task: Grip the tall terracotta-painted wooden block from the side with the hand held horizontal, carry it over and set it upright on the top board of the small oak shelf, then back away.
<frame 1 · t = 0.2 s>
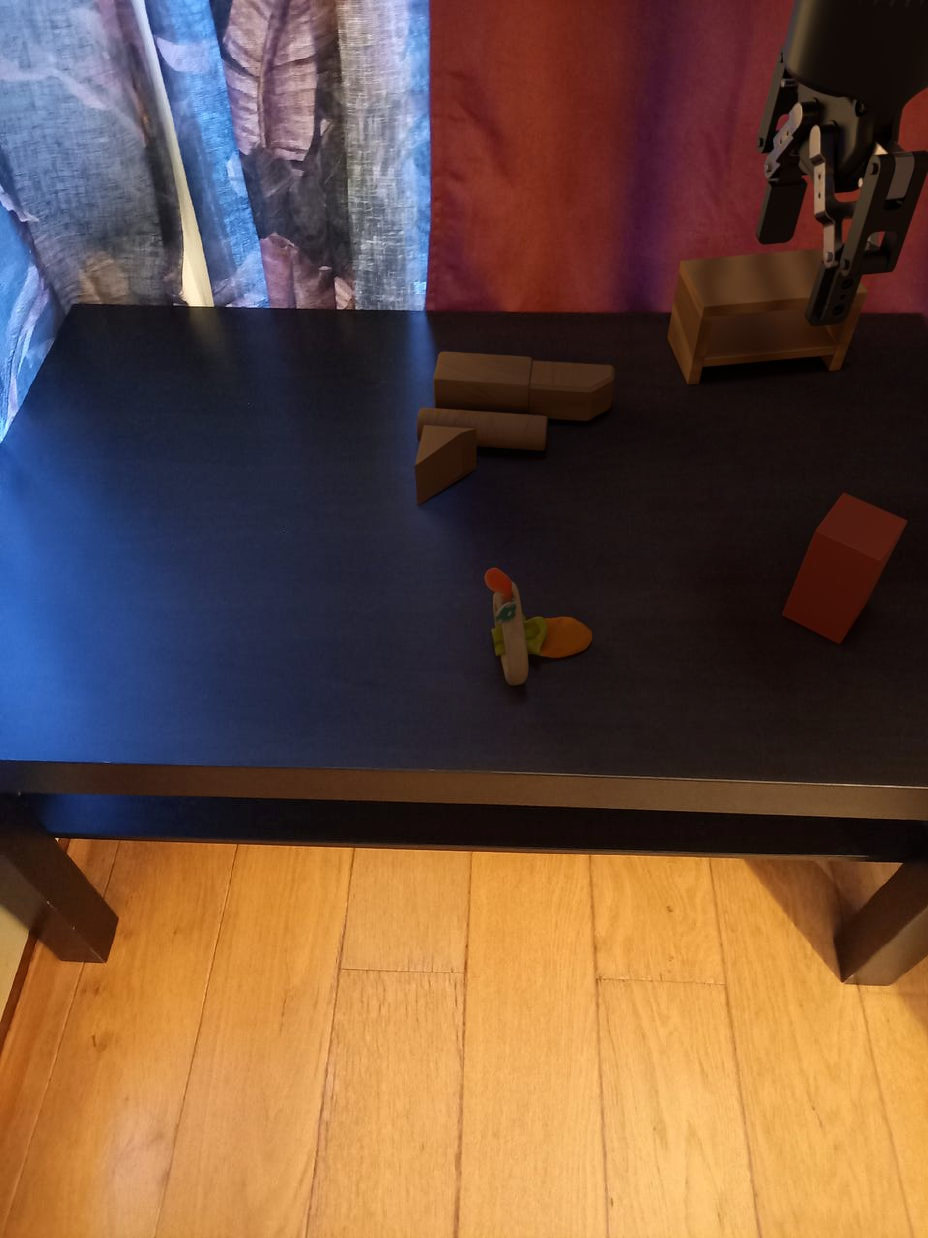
hand: (796, 278, 56), 29 cm above the table, tool pointing down, fingers open, 8 cm apart
rattle: (537, 664, 74), on the table
shelf: (751, 353, 98), on the table
block: (823, 610, 77), on the table
wooden block set: (512, 450, 90), on the table
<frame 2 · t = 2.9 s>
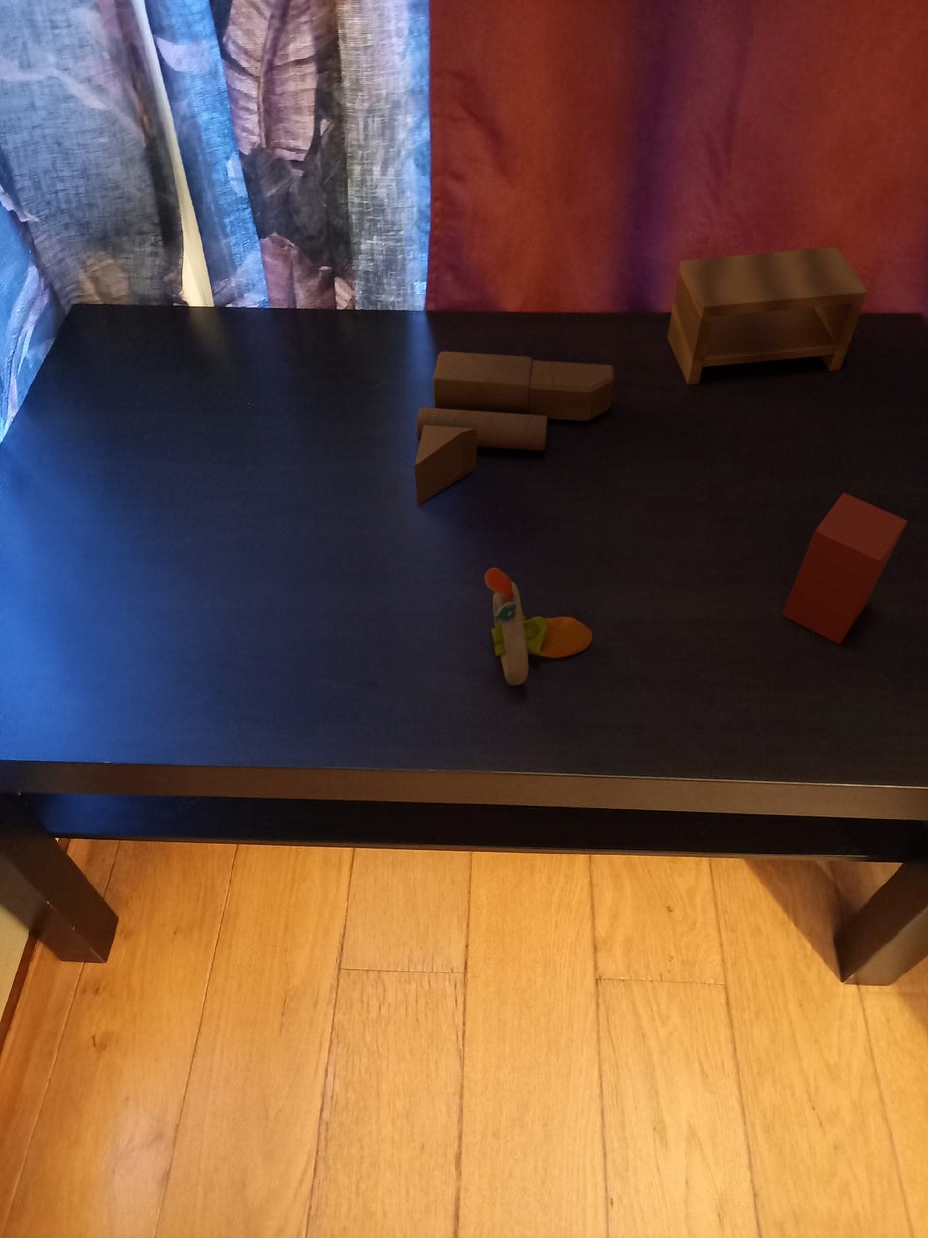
nothing on the table moved.
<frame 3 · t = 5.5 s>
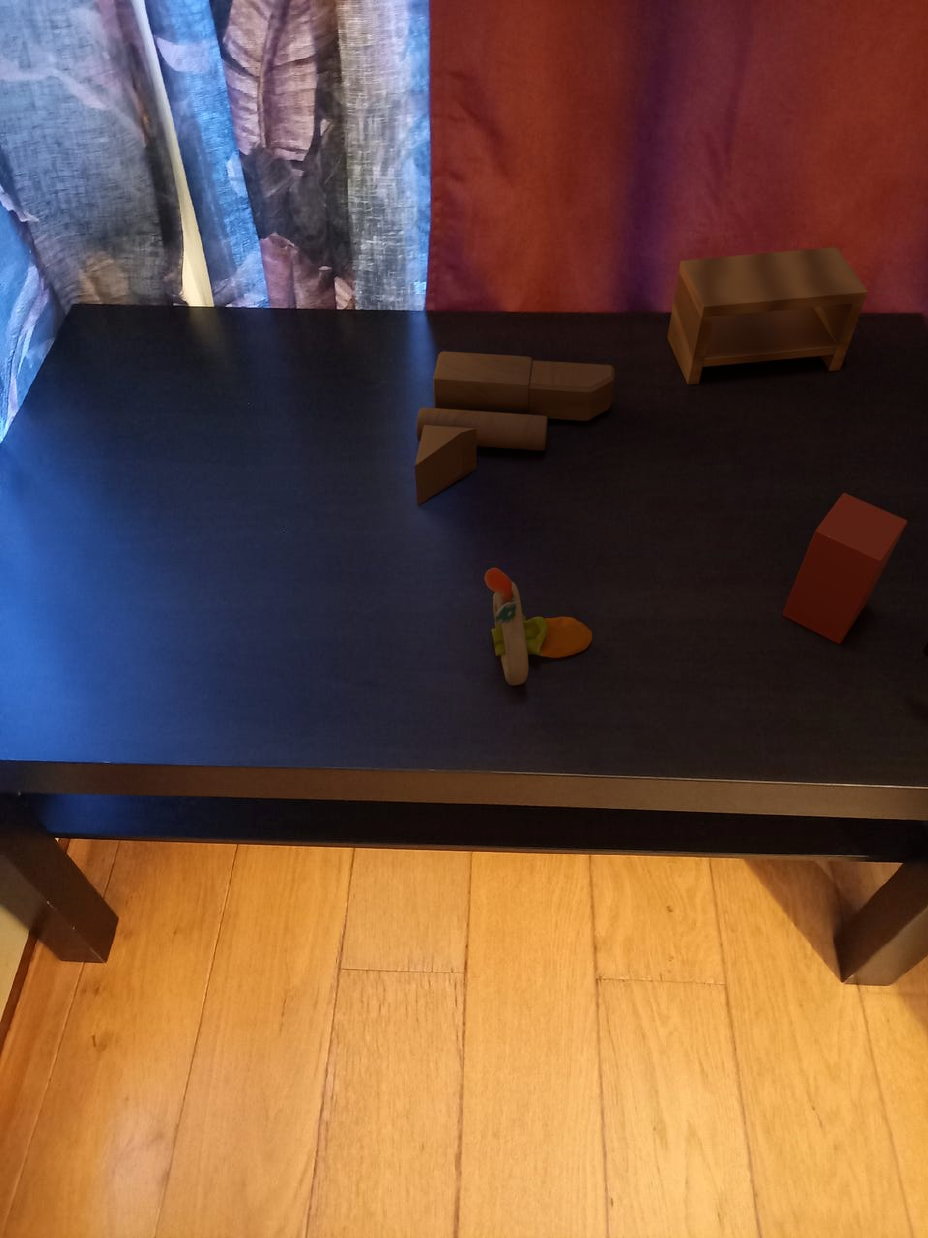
nothing on the table moved.
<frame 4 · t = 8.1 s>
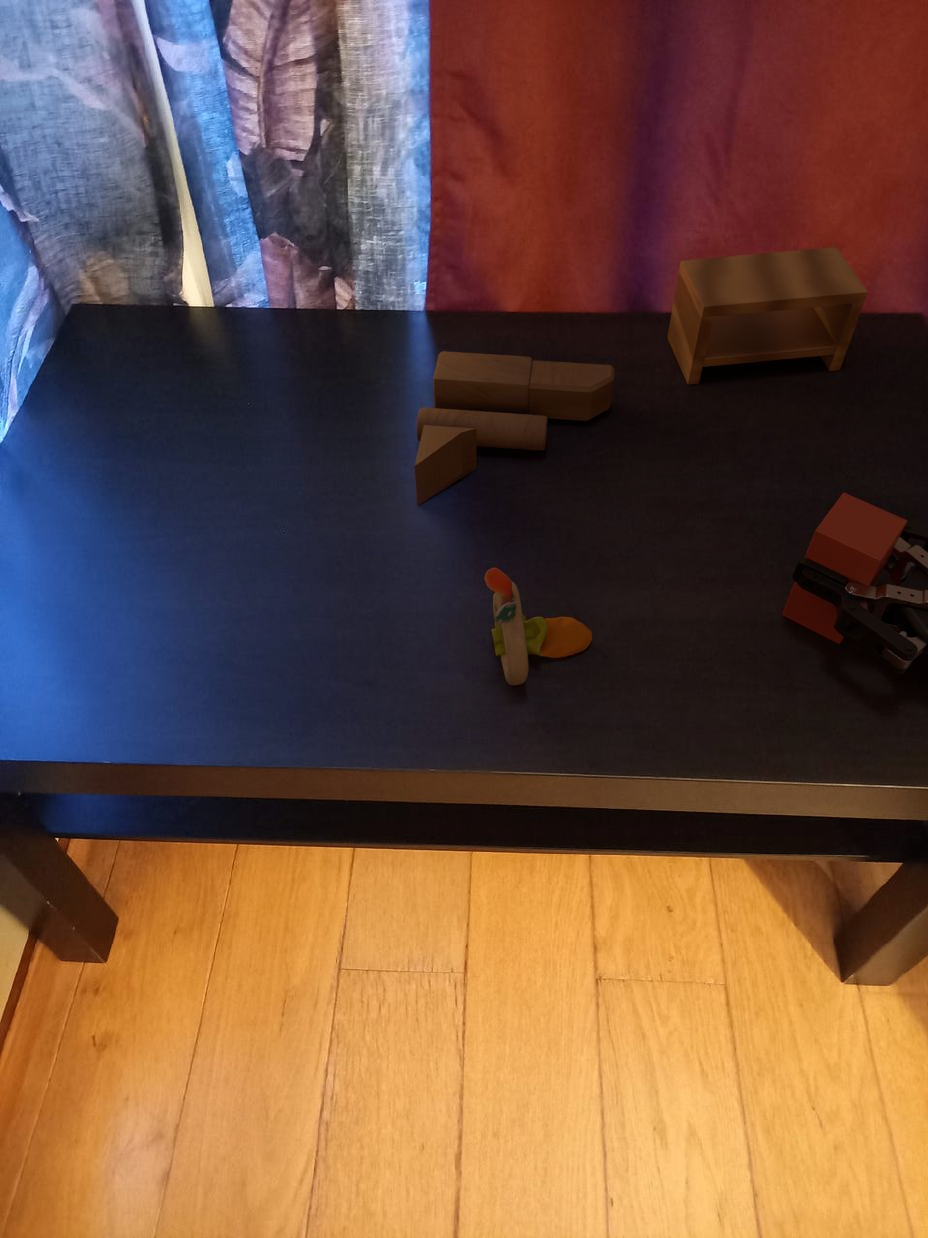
hand: (813, 546, 73), 6 cm above the table, tool horizontal, fingers closed on block, 5 cm apart
block: (823, 610, 77), on the table, touching gripper
everything else where it was.
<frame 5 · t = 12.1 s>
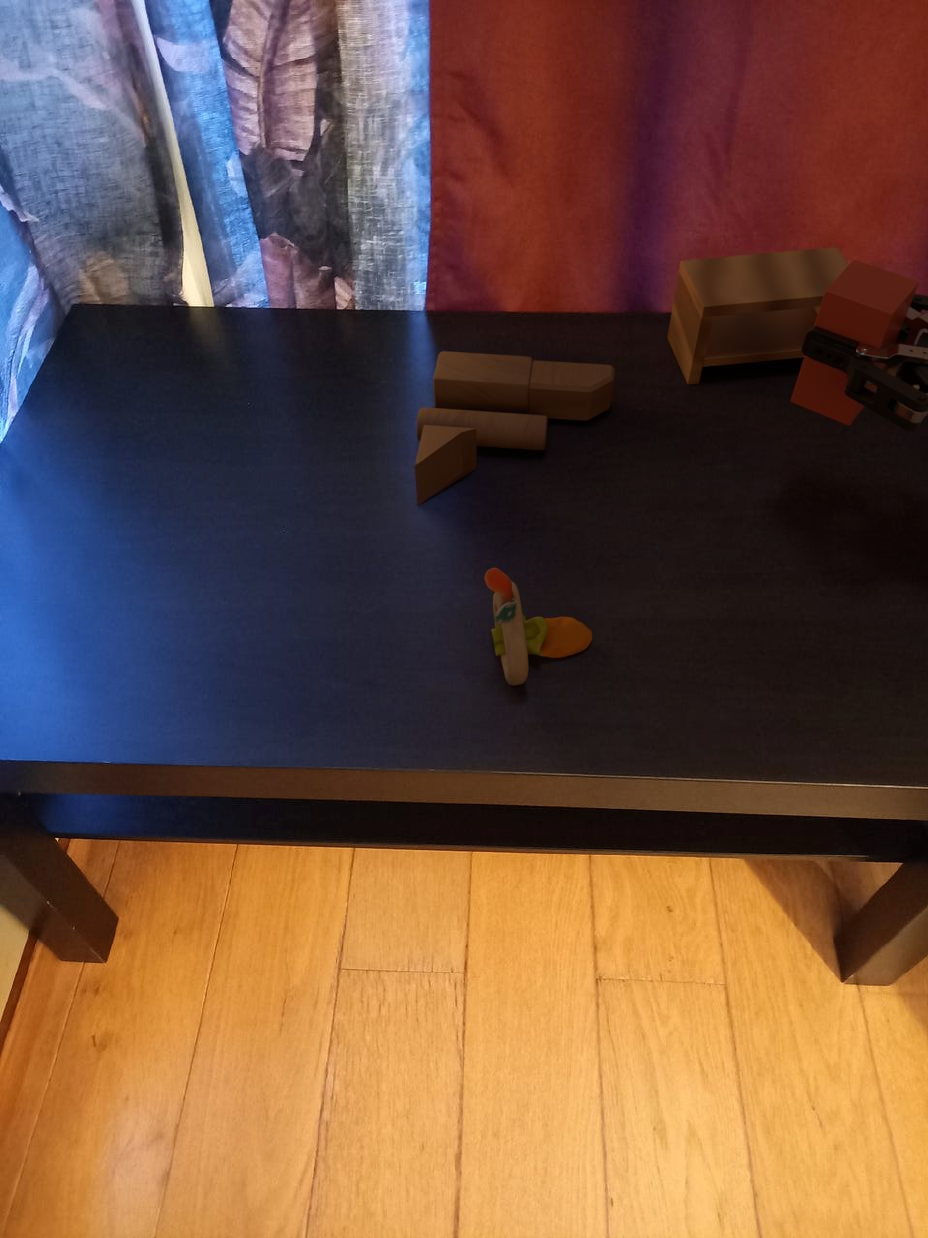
hand: (823, 321, 72), 18 cm above the table, tool horizontal, fingers closed on block, 5 cm apart
block: (832, 397, 75), point 12 cm above the table, touching gripper
everything else where it was.
when the fingers open (15 cm above the table, at t = 16.2 s): block stays where it is, resting on shelf.
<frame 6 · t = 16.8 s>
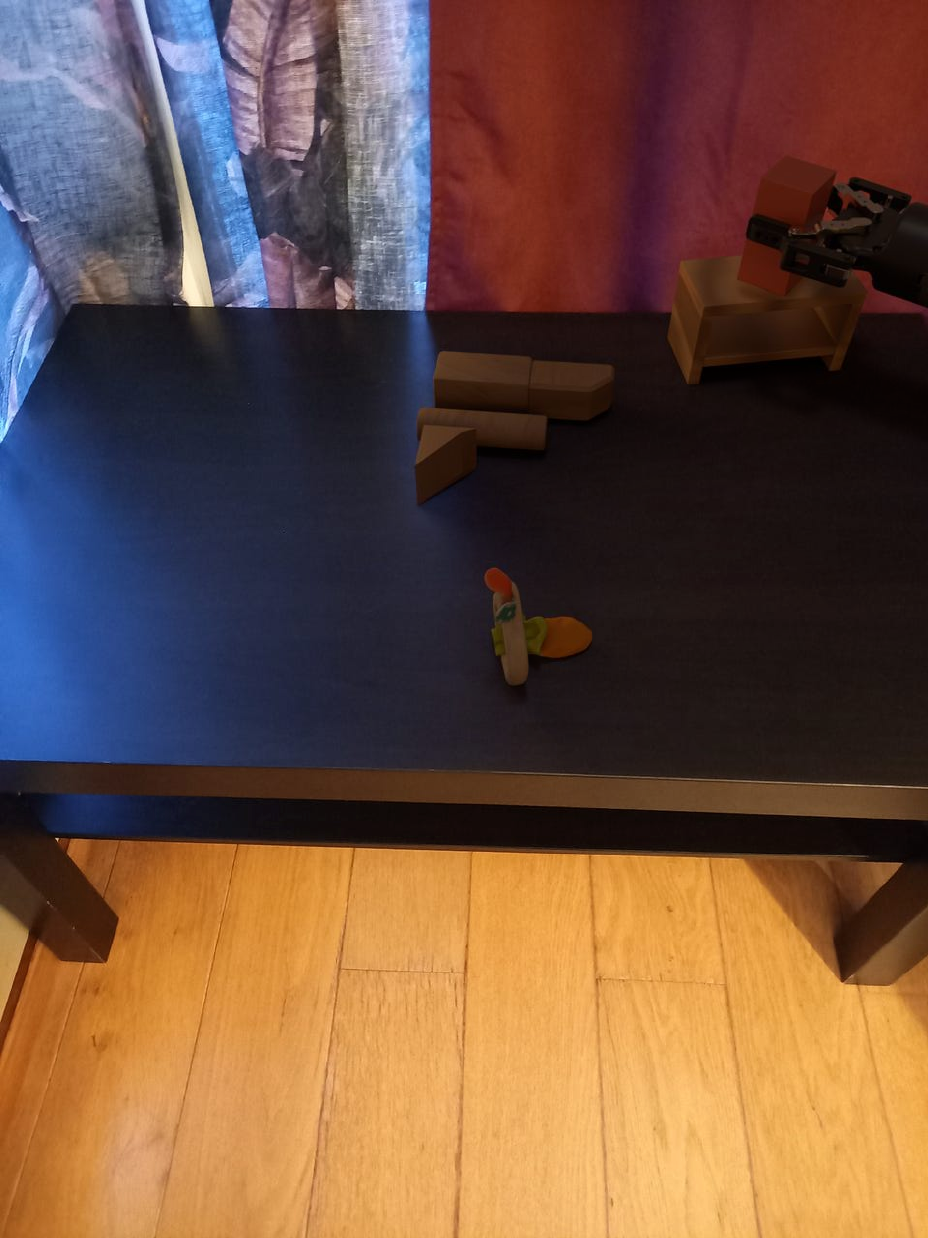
hand: (770, 205, 87), 15 cm above the table, tool horizontal, fingers open, 8 cm apart
block: (771, 275, 91), point 9 cm above the table, touching shelf
everything else where it was.
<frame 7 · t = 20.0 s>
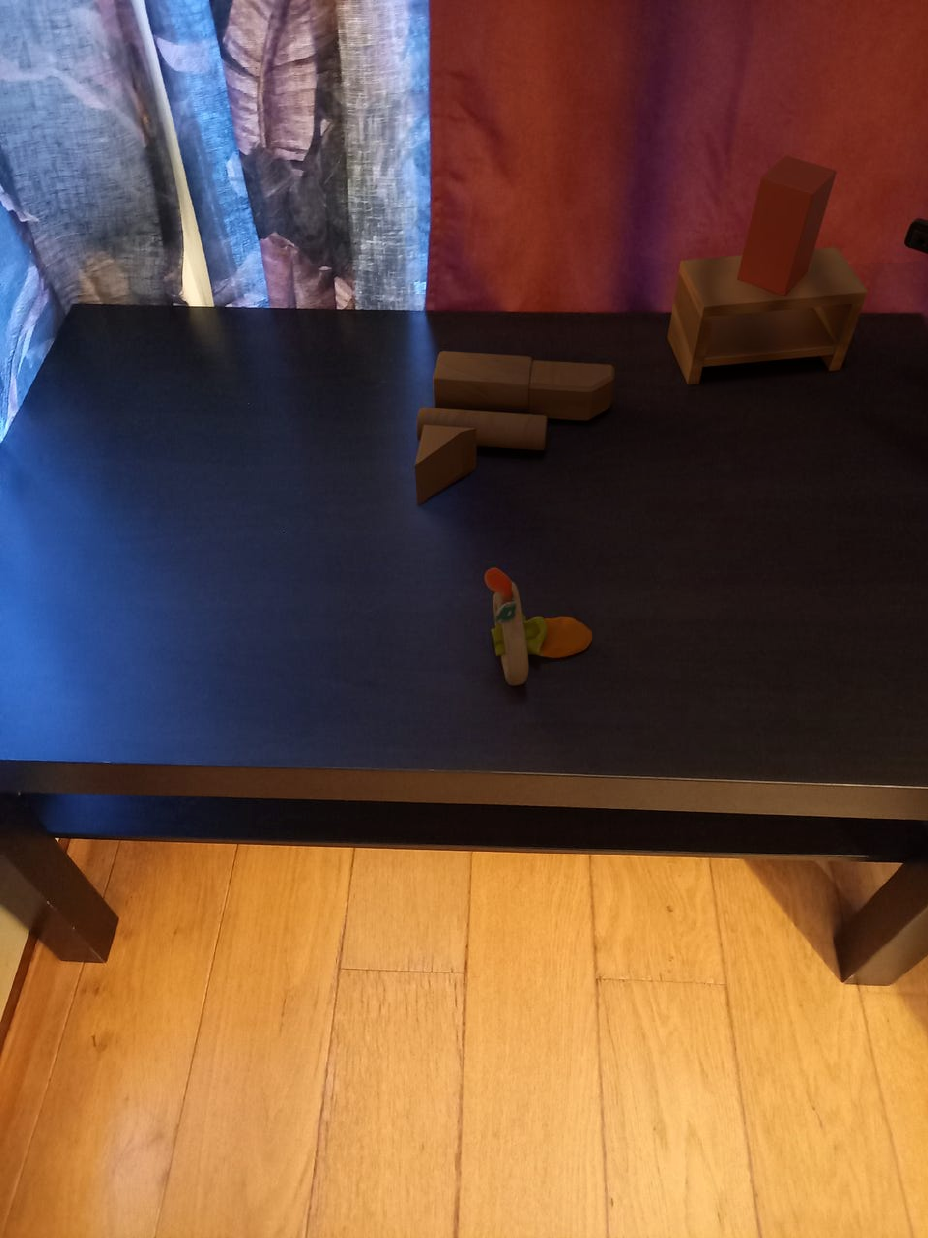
nothing on the table moved.
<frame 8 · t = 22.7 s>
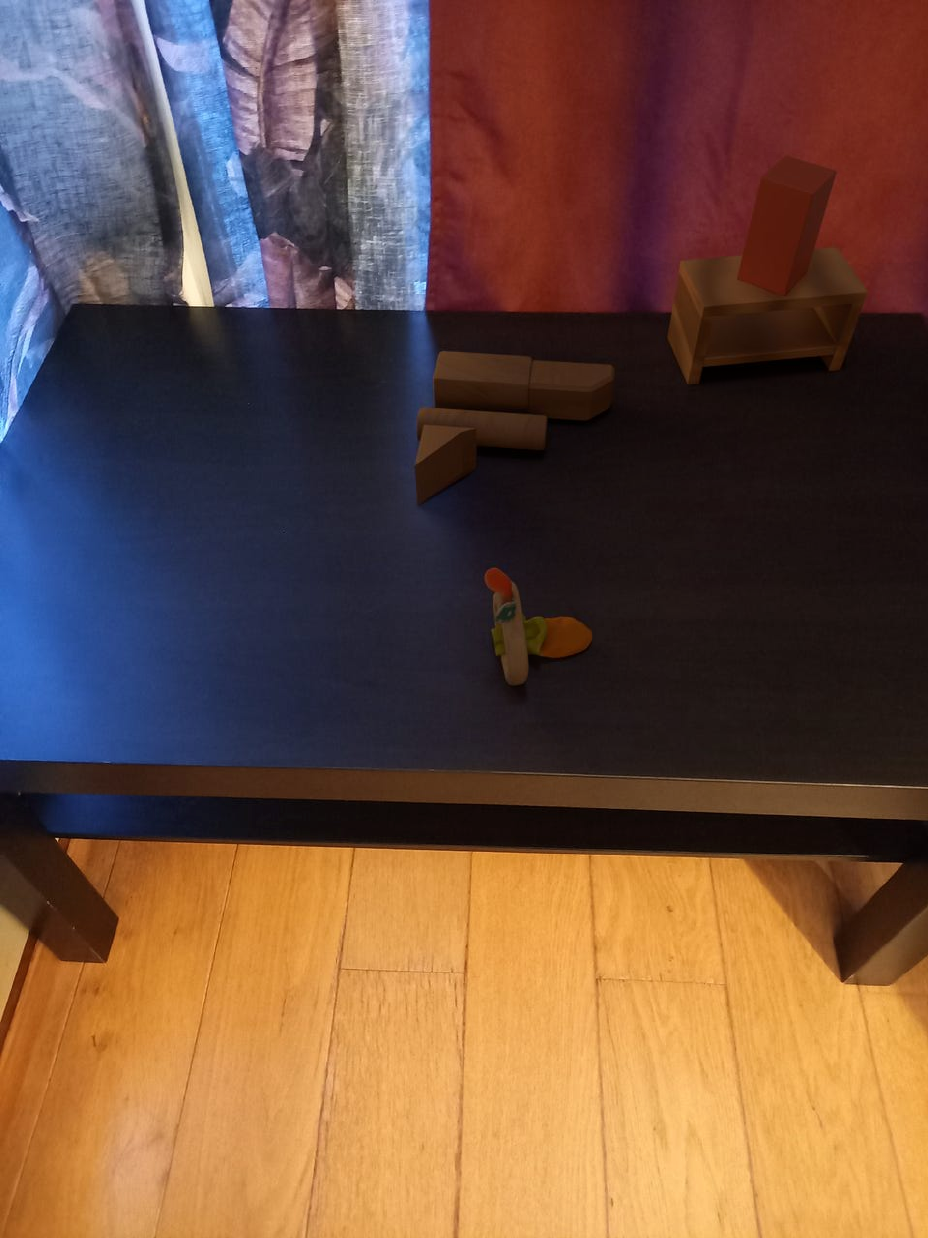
nothing on the table moved.
at the end: block inside the target area on the shelf (0.1 cm from its centre), point 9.0 cm above the shelf's base; block tilted 0°; the gripper is holding nothing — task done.
